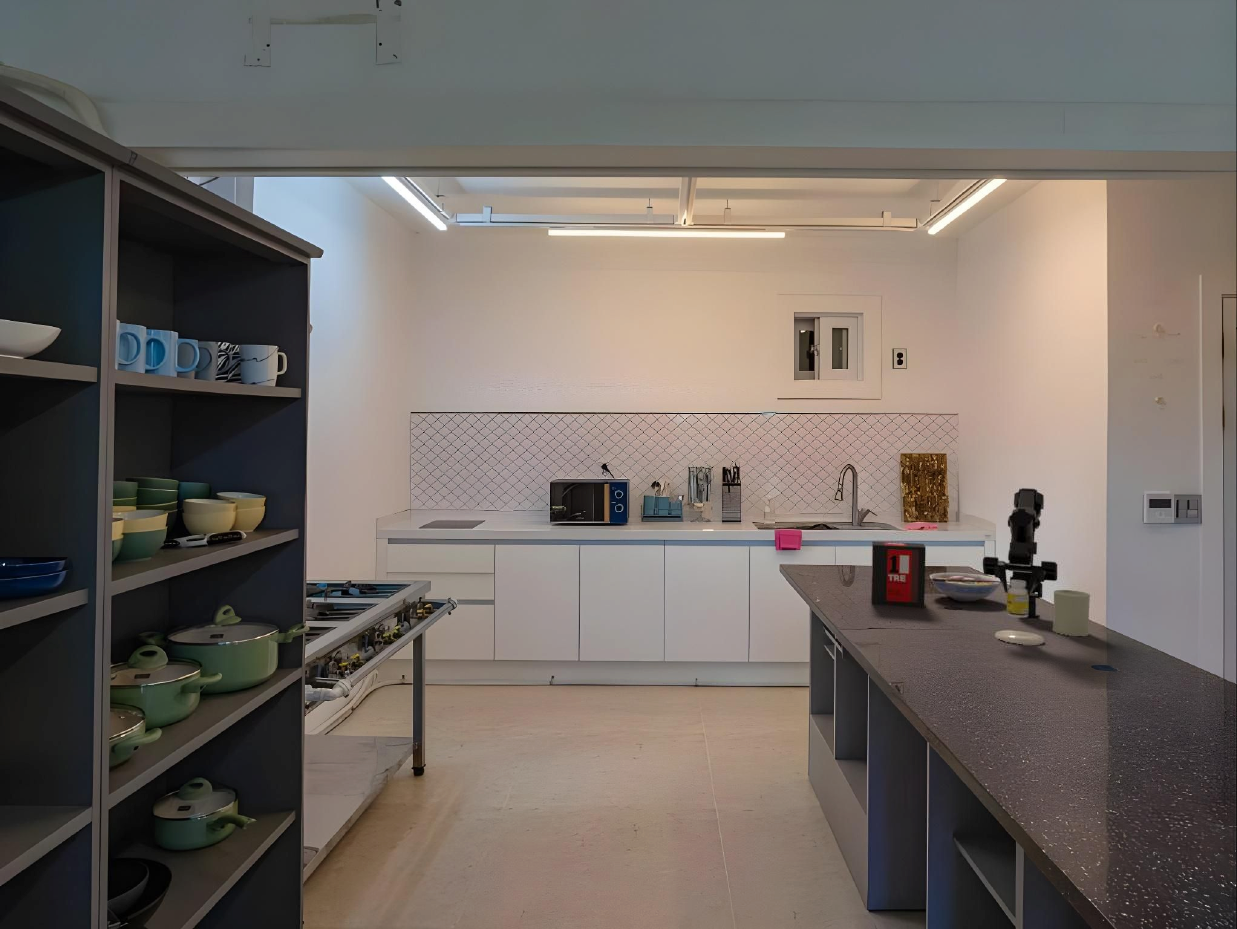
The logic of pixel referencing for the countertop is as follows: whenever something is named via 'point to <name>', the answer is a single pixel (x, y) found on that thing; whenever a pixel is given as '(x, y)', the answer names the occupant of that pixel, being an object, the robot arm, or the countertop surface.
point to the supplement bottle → (1017, 599)
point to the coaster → (1019, 637)
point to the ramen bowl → (965, 585)
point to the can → (1071, 613)
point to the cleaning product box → (898, 574)
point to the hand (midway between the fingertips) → (1017, 593)
